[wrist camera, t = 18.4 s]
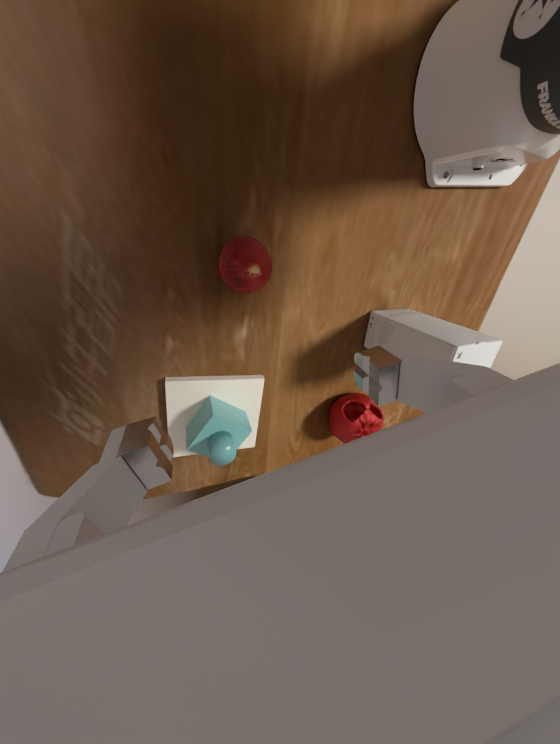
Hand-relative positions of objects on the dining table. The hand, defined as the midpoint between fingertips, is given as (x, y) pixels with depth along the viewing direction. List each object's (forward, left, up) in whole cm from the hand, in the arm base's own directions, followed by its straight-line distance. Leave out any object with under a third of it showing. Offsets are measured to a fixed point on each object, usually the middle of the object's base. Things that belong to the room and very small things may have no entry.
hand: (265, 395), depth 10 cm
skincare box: (-30, +4, -26) cm, 40 cm away
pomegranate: (-27, +21, -26) cm, 43 cm away
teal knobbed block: (-2, +21, -25) cm, 32 cm away
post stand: (-2, +20, -26) cm, 33 cm away
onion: (-4, -3, -26) cm, 26 cm away
